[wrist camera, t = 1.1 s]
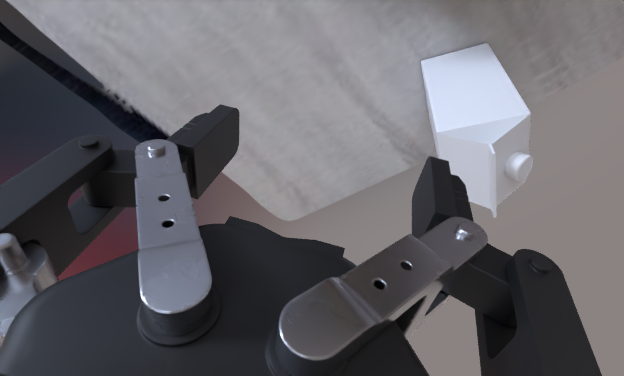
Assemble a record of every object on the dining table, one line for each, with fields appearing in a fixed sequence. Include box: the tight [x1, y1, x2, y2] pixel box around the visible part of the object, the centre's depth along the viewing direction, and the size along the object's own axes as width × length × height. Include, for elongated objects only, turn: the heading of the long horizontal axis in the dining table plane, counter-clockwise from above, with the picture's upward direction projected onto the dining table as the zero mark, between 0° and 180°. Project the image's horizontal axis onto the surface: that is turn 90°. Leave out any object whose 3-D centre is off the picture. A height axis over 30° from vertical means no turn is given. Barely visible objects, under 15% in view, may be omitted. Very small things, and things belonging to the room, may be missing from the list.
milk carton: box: [421, 43, 533, 218], centre depth 34 cm, size 7×7×19 cm
